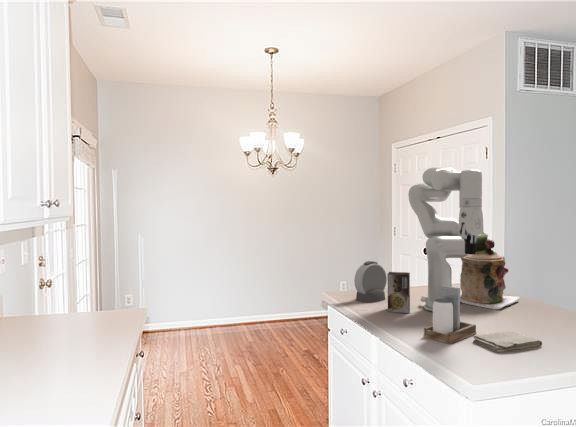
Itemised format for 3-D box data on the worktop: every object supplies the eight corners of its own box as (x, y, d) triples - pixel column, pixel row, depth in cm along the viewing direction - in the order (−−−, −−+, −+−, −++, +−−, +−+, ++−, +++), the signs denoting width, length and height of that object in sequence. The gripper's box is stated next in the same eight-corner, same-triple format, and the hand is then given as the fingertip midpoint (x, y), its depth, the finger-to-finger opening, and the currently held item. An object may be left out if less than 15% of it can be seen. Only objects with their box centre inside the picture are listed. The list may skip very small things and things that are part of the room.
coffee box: (410, 309, 177) (410, 272, 177) (409, 313, 171) (409, 274, 171) (388, 308, 180) (388, 271, 180) (387, 311, 174) (387, 273, 174)
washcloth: (470, 343, 137) (470, 333, 136) (511, 336, 143) (511, 328, 143) (500, 355, 125) (500, 345, 125) (543, 348, 132) (543, 338, 132)
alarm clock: (376, 295, 205) (376, 258, 205) (390, 299, 196) (391, 261, 196) (350, 299, 197) (350, 261, 196) (364, 303, 188) (364, 263, 188)
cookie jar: (444, 301, 193) (445, 232, 192) (468, 293, 210) (468, 230, 209) (500, 311, 175) (501, 235, 174) (521, 301, 192) (521, 232, 191)
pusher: (439, 331, 145) (439, 285, 145) (441, 330, 146) (441, 285, 146) (457, 335, 140) (458, 288, 140) (459, 335, 141) (460, 288, 140)
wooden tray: (423, 336, 142) (423, 327, 142) (449, 326, 153) (449, 318, 152) (450, 344, 134) (450, 335, 134) (476, 333, 145) (476, 325, 145)
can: (454, 339, 137) (454, 303, 137) (434, 338, 138) (434, 302, 138) (451, 333, 143) (451, 298, 143) (431, 332, 145) (431, 298, 144)
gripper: (470, 204, 143) (469, 256, 144) (490, 203, 152) (490, 253, 153) (450, 204, 149) (449, 254, 149) (470, 203, 158) (470, 251, 159)
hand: (470, 254), depth 151 cm, fingers closed
